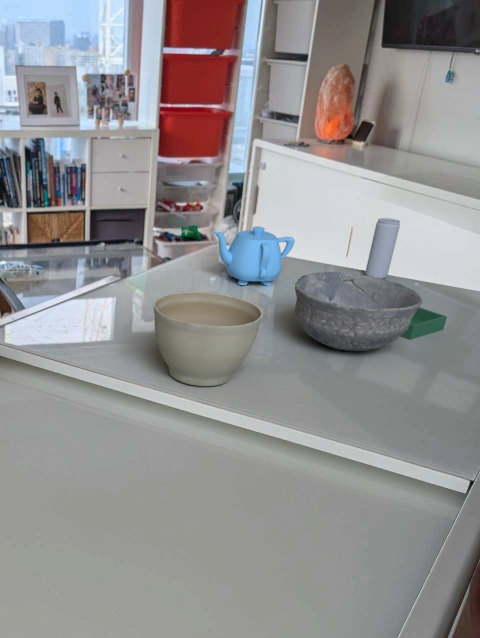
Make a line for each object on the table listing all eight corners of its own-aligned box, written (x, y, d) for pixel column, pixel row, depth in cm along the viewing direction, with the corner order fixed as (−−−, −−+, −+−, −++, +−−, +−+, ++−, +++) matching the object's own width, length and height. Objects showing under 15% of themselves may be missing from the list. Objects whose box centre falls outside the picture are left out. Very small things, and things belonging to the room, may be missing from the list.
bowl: (433, 359, 128) (451, 301, 123) (338, 376, 120) (352, 315, 115) (350, 319, 144) (362, 266, 138) (261, 332, 136) (270, 276, 130)
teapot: (290, 284, 163) (301, 229, 157) (256, 294, 153) (266, 237, 148) (240, 271, 170) (249, 218, 164) (204, 281, 160) (212, 225, 154)
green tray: (397, 313, 148) (400, 300, 146) (443, 329, 141) (447, 316, 139) (363, 322, 143) (366, 309, 141) (410, 339, 136) (413, 326, 134)
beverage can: (364, 278, 166) (378, 221, 160) (363, 272, 170) (376, 216, 164) (387, 281, 166) (402, 223, 159) (386, 275, 170) (399, 219, 163)
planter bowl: (269, 392, 114) (282, 322, 108) (170, 401, 110) (177, 329, 104) (225, 352, 127) (234, 288, 121) (134, 359, 123) (139, 293, 117)
